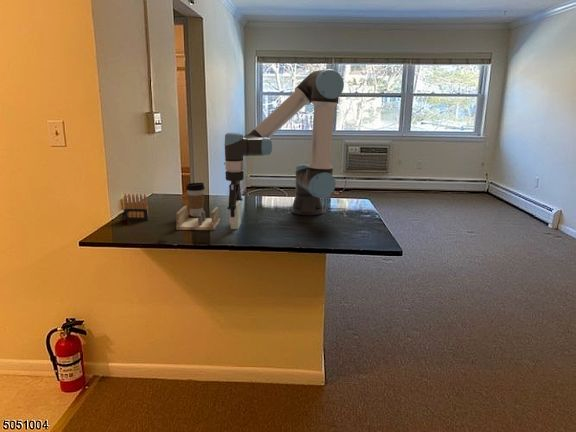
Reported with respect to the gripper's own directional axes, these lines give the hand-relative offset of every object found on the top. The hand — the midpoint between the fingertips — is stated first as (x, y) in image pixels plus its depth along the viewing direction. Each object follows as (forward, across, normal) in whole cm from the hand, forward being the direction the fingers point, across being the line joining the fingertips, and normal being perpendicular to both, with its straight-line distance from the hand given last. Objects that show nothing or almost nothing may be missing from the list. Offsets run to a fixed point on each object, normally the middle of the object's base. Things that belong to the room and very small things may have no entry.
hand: (235, 219), depth 189 cm
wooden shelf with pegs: (+3, 0, -16) cm, 16 cm away
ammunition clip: (+3, -8, -46) cm, 47 cm away
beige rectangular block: (+3, 0, 0) cm, 3 cm away
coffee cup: (+3, -17, -21) cm, 27 cm away
